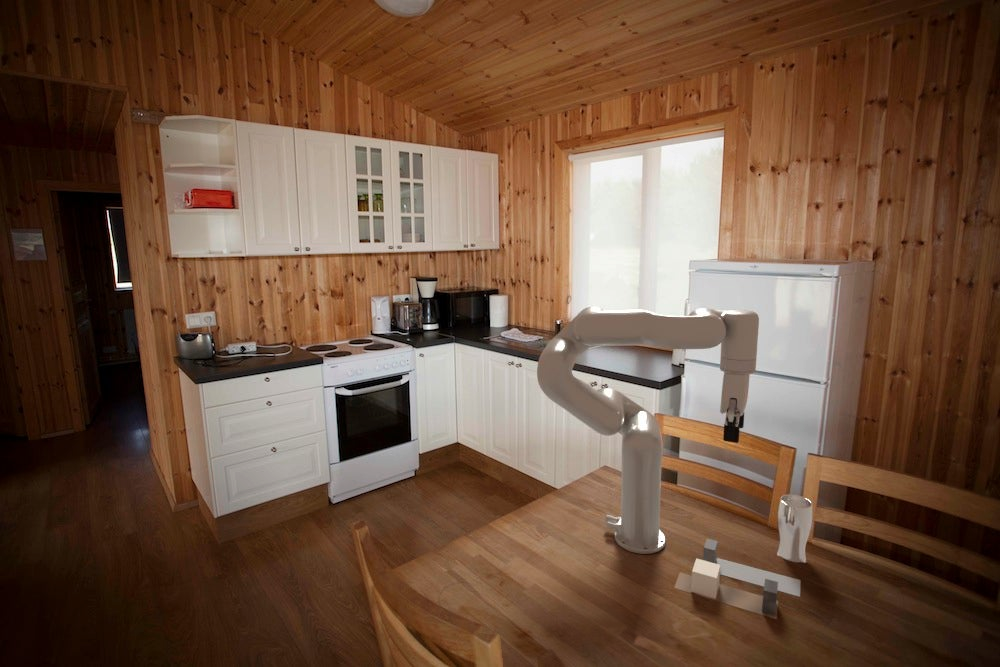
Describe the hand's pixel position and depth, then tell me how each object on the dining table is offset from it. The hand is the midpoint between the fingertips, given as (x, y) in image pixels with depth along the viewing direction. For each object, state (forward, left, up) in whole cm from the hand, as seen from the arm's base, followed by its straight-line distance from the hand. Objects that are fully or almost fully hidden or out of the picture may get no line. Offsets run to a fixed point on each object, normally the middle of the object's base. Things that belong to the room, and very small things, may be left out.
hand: (733, 434), depth 124 cm
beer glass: (+14, +3, -31) cm, 34 cm away
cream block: (-2, -19, -29) cm, 35 cm away
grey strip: (+6, -9, -30) cm, 32 cm away
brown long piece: (+2, -19, -30) cm, 36 cm away
